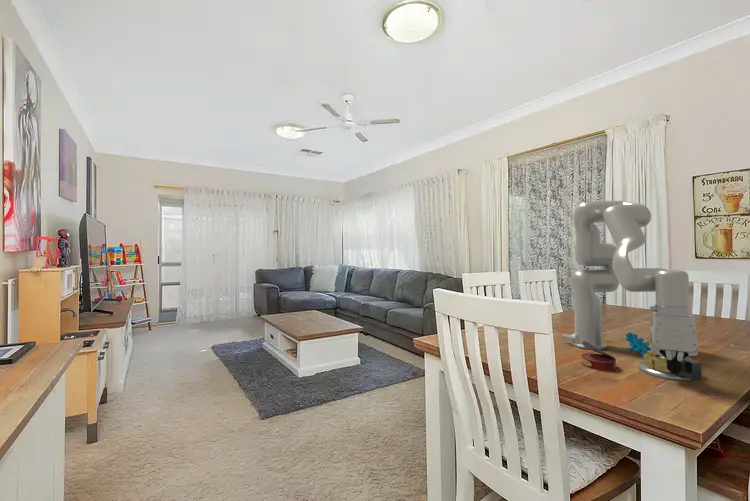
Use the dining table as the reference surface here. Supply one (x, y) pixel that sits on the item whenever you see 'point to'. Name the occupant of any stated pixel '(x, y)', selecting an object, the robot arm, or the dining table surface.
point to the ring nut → (688, 365)
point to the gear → (637, 344)
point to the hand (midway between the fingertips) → (673, 372)
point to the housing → (661, 373)
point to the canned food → (598, 359)
